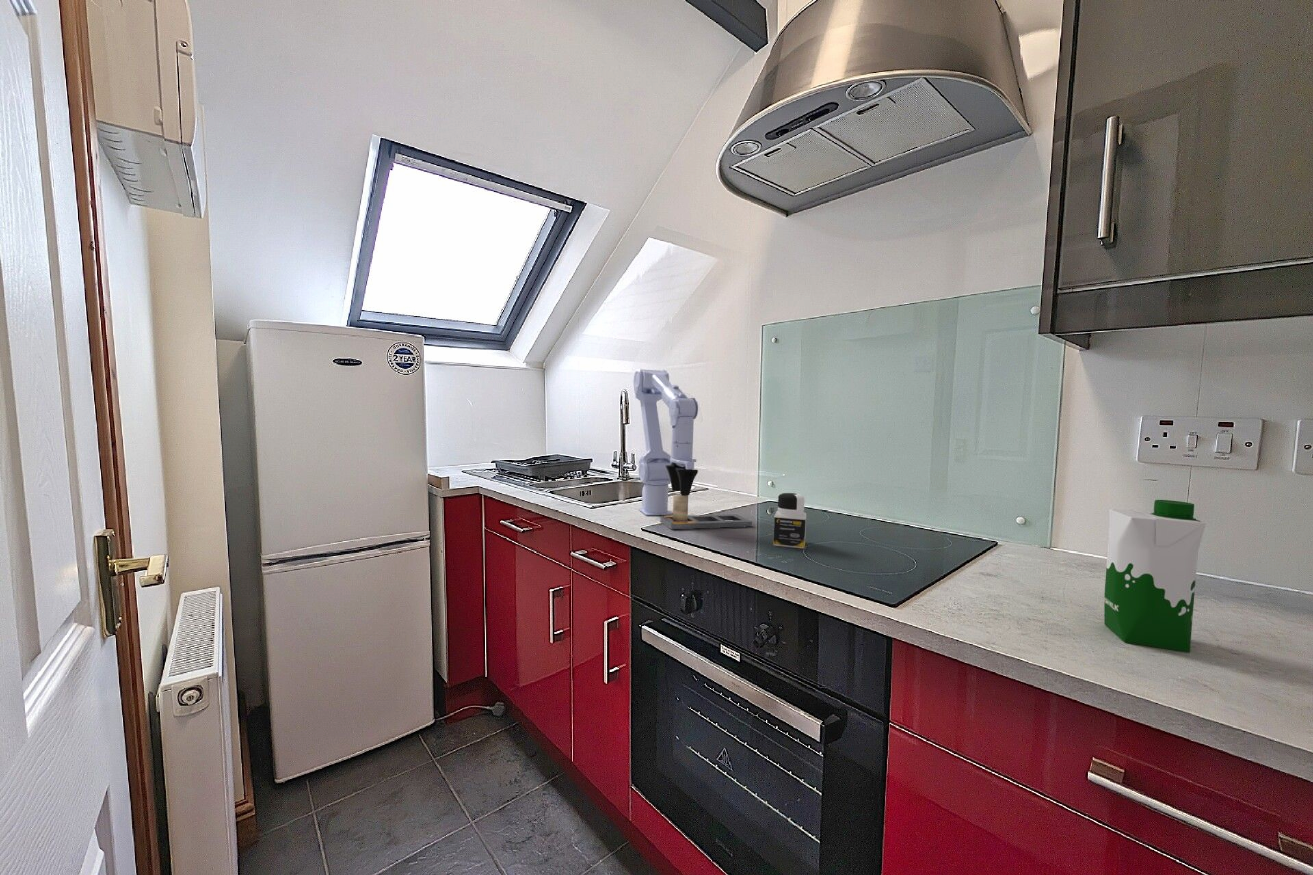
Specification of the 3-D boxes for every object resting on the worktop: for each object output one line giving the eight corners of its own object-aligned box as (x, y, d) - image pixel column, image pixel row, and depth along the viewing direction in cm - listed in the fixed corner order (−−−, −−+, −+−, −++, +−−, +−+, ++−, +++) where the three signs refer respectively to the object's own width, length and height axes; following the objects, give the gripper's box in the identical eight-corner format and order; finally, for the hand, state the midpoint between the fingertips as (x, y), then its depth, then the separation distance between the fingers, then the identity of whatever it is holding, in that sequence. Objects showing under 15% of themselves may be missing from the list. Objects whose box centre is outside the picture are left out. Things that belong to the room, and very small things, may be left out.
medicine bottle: (772, 545, 122) (775, 494, 122) (775, 538, 129) (777, 490, 129) (804, 548, 120) (806, 497, 120) (805, 541, 127) (807, 492, 127)
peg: (670, 523, 143) (671, 494, 142) (684, 523, 144) (685, 494, 144) (675, 527, 139) (676, 497, 139) (689, 526, 140) (690, 497, 140)
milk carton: (1202, 657, 70) (1215, 508, 69) (1117, 643, 73) (1128, 502, 72) (1168, 632, 78) (1179, 499, 77) (1093, 621, 81) (1102, 493, 80)
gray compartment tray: (660, 521, 145) (660, 515, 145) (736, 519, 151) (736, 513, 151) (671, 529, 136) (671, 523, 135) (751, 526, 142) (752, 520, 142)
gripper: (705, 445, 134) (704, 497, 135) (687, 441, 148) (685, 488, 149) (679, 444, 133) (678, 497, 133) (663, 440, 146) (662, 488, 147)
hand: (680, 493), depth 141 cm, fingers open, 7 cm apart
